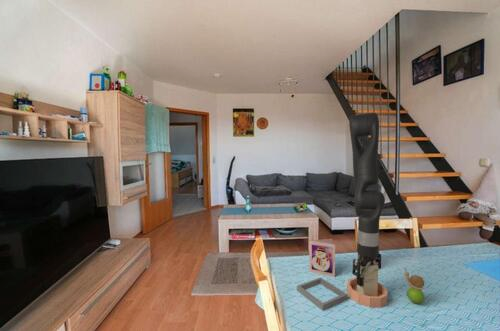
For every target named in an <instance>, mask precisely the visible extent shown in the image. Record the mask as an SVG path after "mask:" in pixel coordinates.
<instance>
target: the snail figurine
mask: <svg viewBox="0 0 500 331" xmlns="http://www.w3.org/2000/svg"><path fill="white" fill-rule="evenodd" d="M409 274H410V273H409V271H407V268H406V267H404V276H405V280H406V282H407V284H408V286H410V287H409V288H407V290H406V297H407V298H408V300H410V302H412V303H414V304H418V305H419V304H422V303H423V302H424V301H425V294H424V292H423V291H422V290H425V287H424V286H425V280H424V279H423V278H422V277H421V276H419V275H416V274H413V275H411V276H410V275H409ZM409 276H410V277H409Z"/></svg>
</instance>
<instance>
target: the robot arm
mask: <svg viewBox="0 0 500 331" xmlns="http://www.w3.org/2000/svg"><path fill="white" fill-rule="evenodd" d="M348 125H349V133H350V141H351V149H352V151H351V152H352V169H353V170H352V173H353V182H354V196H353V204H354V211H355V215H356V216H357V217H358V219H357V220H358V223H357V225H358V226H357V234H356V241H357V242H356V253H357V256H356V257H357V259H356V258H354V259H353V260H352V272H351V273H352V275H354V276H355V277H357V280H356V283H357V285H359V286H360V287H362V286H363V275H364V273H366V272H367V269H368V267H369V266H370V265H378V271H379V269H380V270H381V269H382V254H381V253H380V217H381V214H382V211H383V209H384V207H385V202H386V198H385V195H384V194H383V192H381V191H379V190H368V188H369V187H370V186H375V185H377V184H378V183H379V173H378V172H379V170H378V154H379V140H380V135H379V134H380V119H379V116H378V113H376V112H368V113H367V112H366V113H359V114H354V115H351V116H350V117H349V123H348ZM367 136H370V139H369V143H368V145H367V146H366V148H365V147H364V146H363V144H362V141H361V140H360V137H367ZM361 266H364V267H365V268H364V269H362V268H360V267H361ZM360 270H361V271H362V272H361V274H360Z"/></svg>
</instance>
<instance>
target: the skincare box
mask: <svg viewBox="0 0 500 331" xmlns="http://www.w3.org/2000/svg"><path fill="white" fill-rule="evenodd" d="M360 268H362V269H364V268H365V267H364V266H361V267H360ZM361 272H362V271H361V270H360V274H361ZM378 283H379V270H378V265H370V266H369V267H368V269H367V272H366V273H364V275H363V286H362V287H360V286H359V285H357V292H358V293H360V294H363V295H367V296H377V295H378Z"/></svg>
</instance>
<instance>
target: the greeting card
mask: <svg viewBox="0 0 500 331" xmlns="http://www.w3.org/2000/svg"><path fill="white" fill-rule="evenodd" d="M308 246H309V249H308V250H309V253H308V254H309V256H308V257H309V260H308V261H309V262H308V263H309V265H308V266H309V267H308V270H309V271H308V272H310V273H314V274H319V275H323V276H328V277H333V278H335V277H336V244H334V243H333V238H326V239H325V238H324V239H323V238H322V239H314V240H313V239H311V240H309V245H308Z"/></svg>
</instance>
